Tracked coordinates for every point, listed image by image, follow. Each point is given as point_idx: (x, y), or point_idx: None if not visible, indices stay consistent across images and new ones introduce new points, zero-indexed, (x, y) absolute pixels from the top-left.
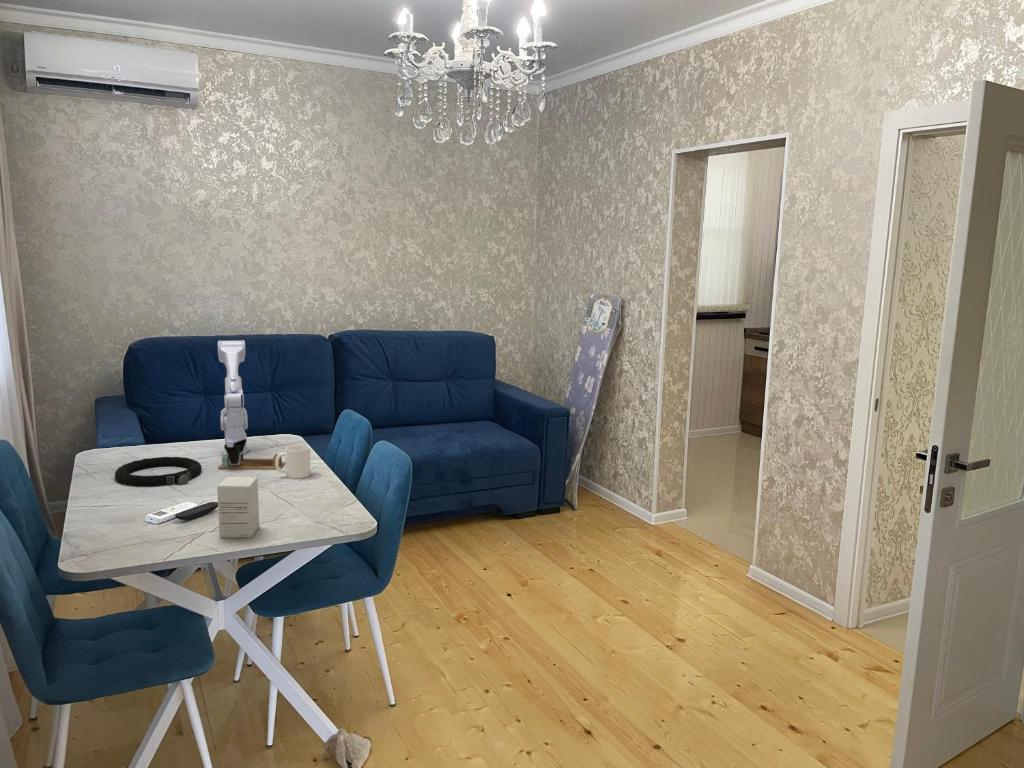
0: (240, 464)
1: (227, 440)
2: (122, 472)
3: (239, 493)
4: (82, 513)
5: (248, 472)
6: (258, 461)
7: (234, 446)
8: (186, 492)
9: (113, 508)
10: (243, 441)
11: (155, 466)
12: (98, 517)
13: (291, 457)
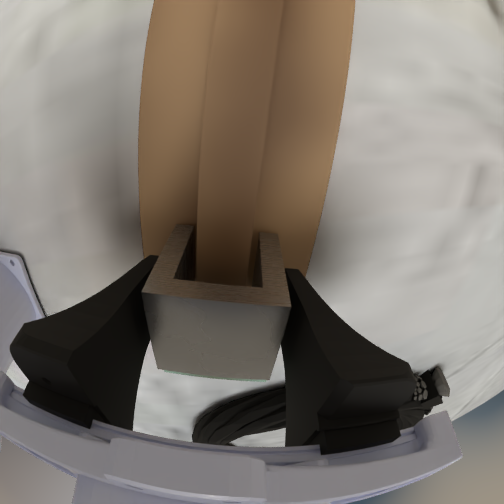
0: (277, 238)
1: (368, 497)
2: None
3: None
4: (475, 406)
5: (402, 160)
6: (272, 81)
7: (399, 414)
8: (498, 337)
9: (484, 391)
10: (83, 374)
11: (229, 445)
12: (500, 385)
13: None
